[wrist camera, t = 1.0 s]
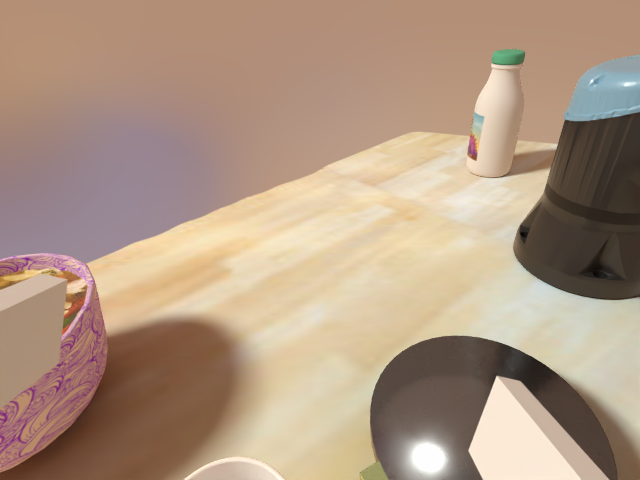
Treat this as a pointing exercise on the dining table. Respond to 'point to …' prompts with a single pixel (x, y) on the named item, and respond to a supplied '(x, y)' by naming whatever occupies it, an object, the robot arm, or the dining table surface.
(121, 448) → the dining table surface
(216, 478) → the white cup
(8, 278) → the bowl of food
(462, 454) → the stand
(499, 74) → the milk bottle
